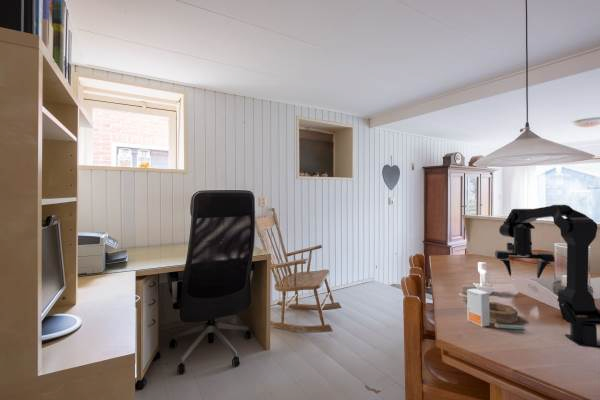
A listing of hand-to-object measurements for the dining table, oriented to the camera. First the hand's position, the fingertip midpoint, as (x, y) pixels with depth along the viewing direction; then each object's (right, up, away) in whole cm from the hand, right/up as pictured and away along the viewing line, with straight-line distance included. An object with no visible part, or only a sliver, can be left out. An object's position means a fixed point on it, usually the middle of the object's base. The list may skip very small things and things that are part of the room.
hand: (523, 276), depth 115 cm
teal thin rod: (-18, -14, -16) cm, 27 cm away
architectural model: (-15, -15, +12) cm, 24 cm away
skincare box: (-26, -15, -11) cm, 31 cm away
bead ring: (-15, -14, -5) cm, 21 cm away
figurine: (-1, -15, +24) cm, 28 cm away
